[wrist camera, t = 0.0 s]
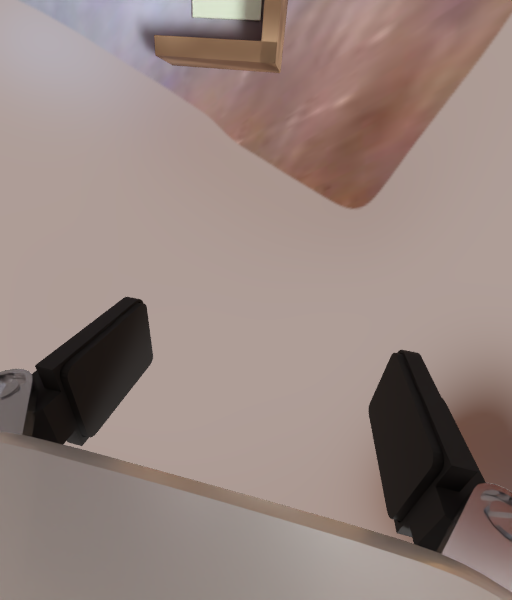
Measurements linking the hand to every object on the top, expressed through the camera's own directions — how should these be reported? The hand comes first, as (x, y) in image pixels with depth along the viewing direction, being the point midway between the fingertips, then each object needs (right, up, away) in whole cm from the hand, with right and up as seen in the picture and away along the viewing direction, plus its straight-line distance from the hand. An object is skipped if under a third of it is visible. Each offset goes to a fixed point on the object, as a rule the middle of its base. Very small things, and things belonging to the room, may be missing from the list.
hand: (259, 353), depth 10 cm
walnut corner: (-3, +33, +19) cm, 38 cm away
